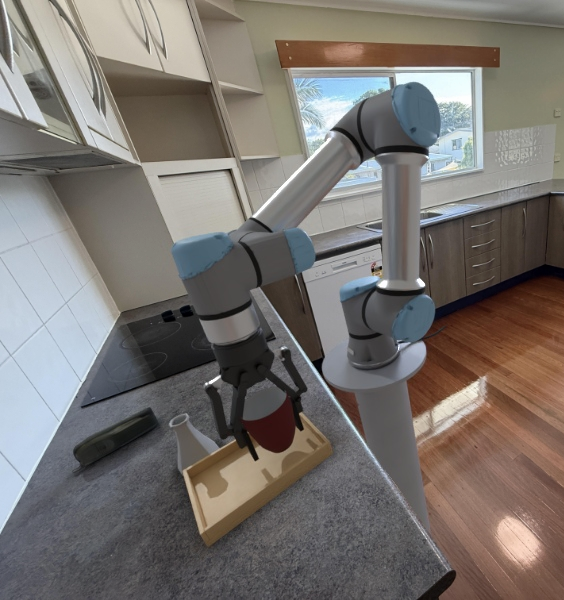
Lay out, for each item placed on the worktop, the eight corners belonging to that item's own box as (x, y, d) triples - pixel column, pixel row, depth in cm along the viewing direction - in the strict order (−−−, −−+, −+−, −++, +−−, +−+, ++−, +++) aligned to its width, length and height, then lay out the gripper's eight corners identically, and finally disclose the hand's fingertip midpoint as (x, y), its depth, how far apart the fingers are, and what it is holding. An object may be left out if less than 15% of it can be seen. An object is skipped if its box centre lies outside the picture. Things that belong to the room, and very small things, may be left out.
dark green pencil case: (148, 404, 72) (58, 450, 61) (152, 408, 70) (61, 457, 59) (157, 420, 74) (71, 469, 63) (161, 425, 72) (74, 476, 61)
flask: (219, 437, 65) (201, 400, 61) (221, 461, 59) (200, 422, 55) (179, 456, 62) (157, 417, 58) (177, 483, 56) (152, 442, 52)
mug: (243, 447, 58) (221, 407, 54) (279, 417, 64) (262, 378, 60) (277, 471, 52) (255, 427, 48) (313, 435, 58) (296, 393, 54)
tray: (297, 414, 68) (294, 404, 67) (333, 453, 57) (329, 441, 56) (188, 482, 56) (182, 470, 55) (208, 547, 45) (200, 534, 44)
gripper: (288, 304, 58) (317, 401, 67) (154, 356, 46) (212, 466, 55) (306, 314, 52) (336, 418, 61) (160, 376, 40) (223, 494, 49)
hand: (277, 440), depth 58 cm, fingers closed on mug, 8 cm apart
